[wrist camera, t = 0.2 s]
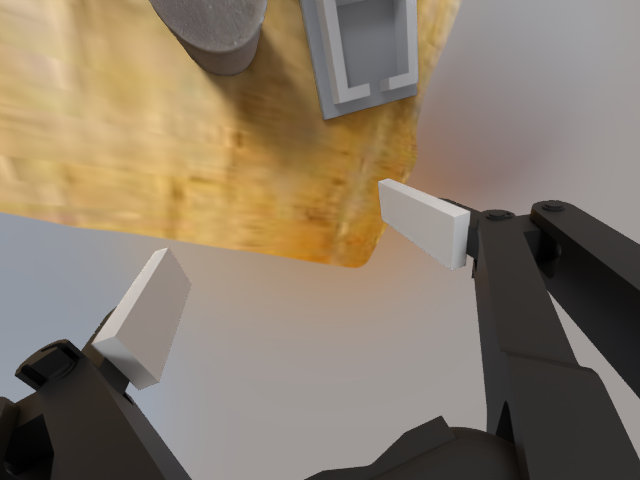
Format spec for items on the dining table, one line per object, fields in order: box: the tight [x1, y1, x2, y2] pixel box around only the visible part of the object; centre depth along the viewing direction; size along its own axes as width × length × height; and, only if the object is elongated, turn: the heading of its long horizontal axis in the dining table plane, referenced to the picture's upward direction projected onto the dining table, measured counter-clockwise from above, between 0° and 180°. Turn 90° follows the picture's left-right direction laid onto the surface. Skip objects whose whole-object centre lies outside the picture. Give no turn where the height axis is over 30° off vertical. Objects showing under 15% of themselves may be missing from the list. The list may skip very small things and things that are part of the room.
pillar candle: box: [149, 0, 267, 76], centre depth 25 cm, size 10×10×15 cm
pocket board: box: [299, 0, 418, 120], centre depth 34 cm, size 16×16×4 cm
